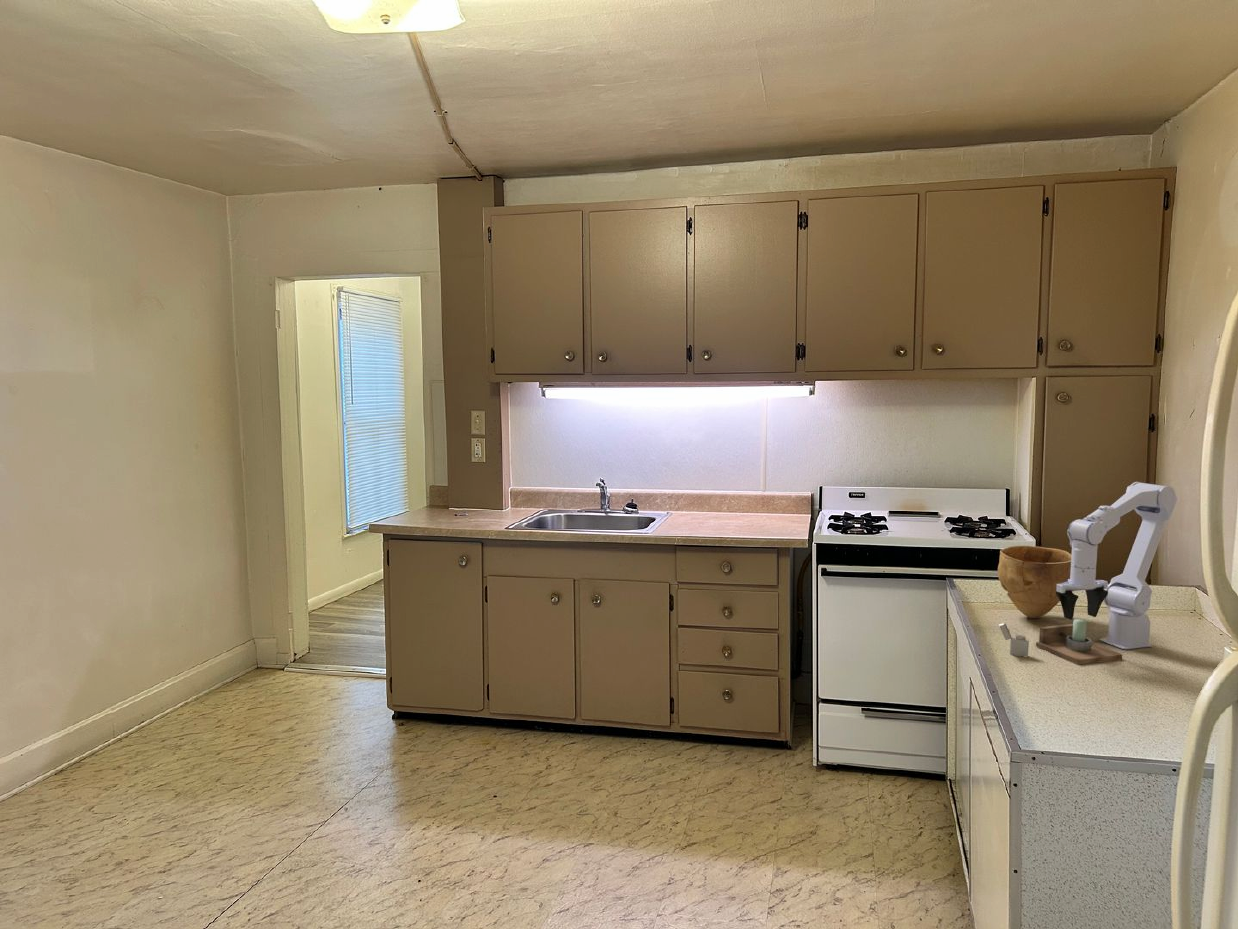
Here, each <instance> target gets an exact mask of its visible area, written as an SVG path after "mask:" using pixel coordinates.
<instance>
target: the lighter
mask: <svg viewBox="0 0 1238 929" xmlns="http://www.w3.org/2000/svg"><path fill="white" fill-rule="evenodd" d="M998 626H999V629H1000V631H1001V633H1002V635H1003V637H1004V639H1005V641H1008V640H1010V646H1009V647H1010V649H1009V655H1010V656H1015V657H1016V656H1017V657H1021V656H1026V657H1025V658H1029V647H1030V646H1029V643H1030V639H1027V638H1026V636H1025V635H1023V634H1015V636H1012V635H1011V633H1010V630H1009V628H1008V626H1007V624H1006V622H1001V623H999V624H998Z"/></svg>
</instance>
